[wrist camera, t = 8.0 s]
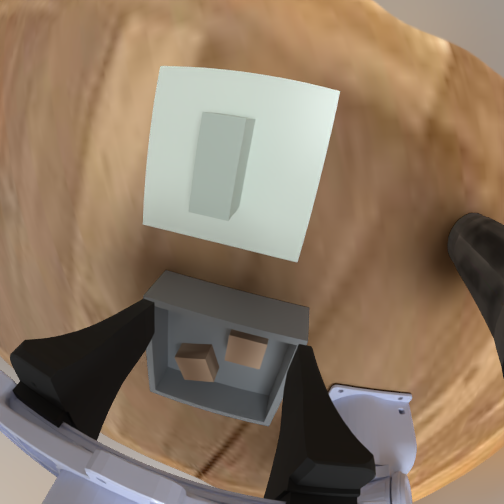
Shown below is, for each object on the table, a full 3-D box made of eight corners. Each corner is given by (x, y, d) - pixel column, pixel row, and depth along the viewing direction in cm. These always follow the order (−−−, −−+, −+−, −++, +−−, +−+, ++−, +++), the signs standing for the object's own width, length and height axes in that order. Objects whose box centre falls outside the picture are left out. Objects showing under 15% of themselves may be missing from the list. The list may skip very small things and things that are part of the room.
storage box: (309, 307, 23) (308, 341, 19) (274, 395, 28) (268, 426, 25) (165, 270, 24) (143, 295, 20) (164, 364, 29) (150, 391, 26)
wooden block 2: (270, 328, 24) (267, 344, 22) (263, 353, 25) (259, 369, 23) (235, 319, 24) (229, 334, 22) (229, 344, 25) (224, 360, 23)
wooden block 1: (211, 344, 26) (205, 359, 24) (219, 367, 27) (213, 382, 25) (182, 343, 26) (174, 357, 25) (191, 365, 27) (184, 379, 26)
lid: (338, 93, 16) (346, 85, 13) (297, 256, 22) (295, 283, 18) (166, 67, 17) (138, 59, 14) (148, 220, 23) (122, 239, 19)
